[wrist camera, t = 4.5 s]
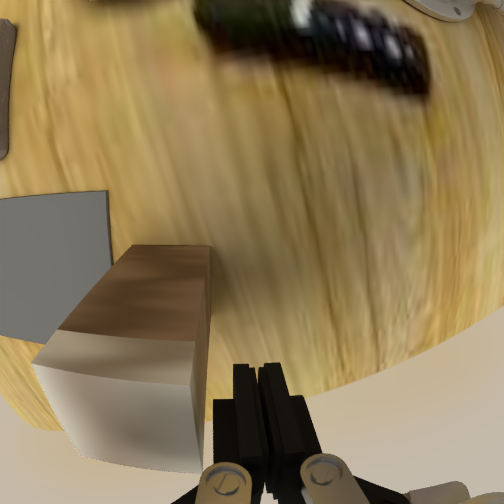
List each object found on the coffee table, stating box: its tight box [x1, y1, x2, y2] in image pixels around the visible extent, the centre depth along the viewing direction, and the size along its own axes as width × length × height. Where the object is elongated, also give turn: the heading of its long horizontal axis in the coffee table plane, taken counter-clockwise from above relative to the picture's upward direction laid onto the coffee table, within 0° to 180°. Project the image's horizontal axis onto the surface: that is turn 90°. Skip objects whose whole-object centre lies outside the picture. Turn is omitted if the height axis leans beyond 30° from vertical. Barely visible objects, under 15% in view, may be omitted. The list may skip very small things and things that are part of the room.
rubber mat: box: [0, 191, 113, 344], centre depth 17 cm, size 14×12×1 cm
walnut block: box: [31, 245, 211, 474], centre depth 13 cm, size 5×5×12 cm
